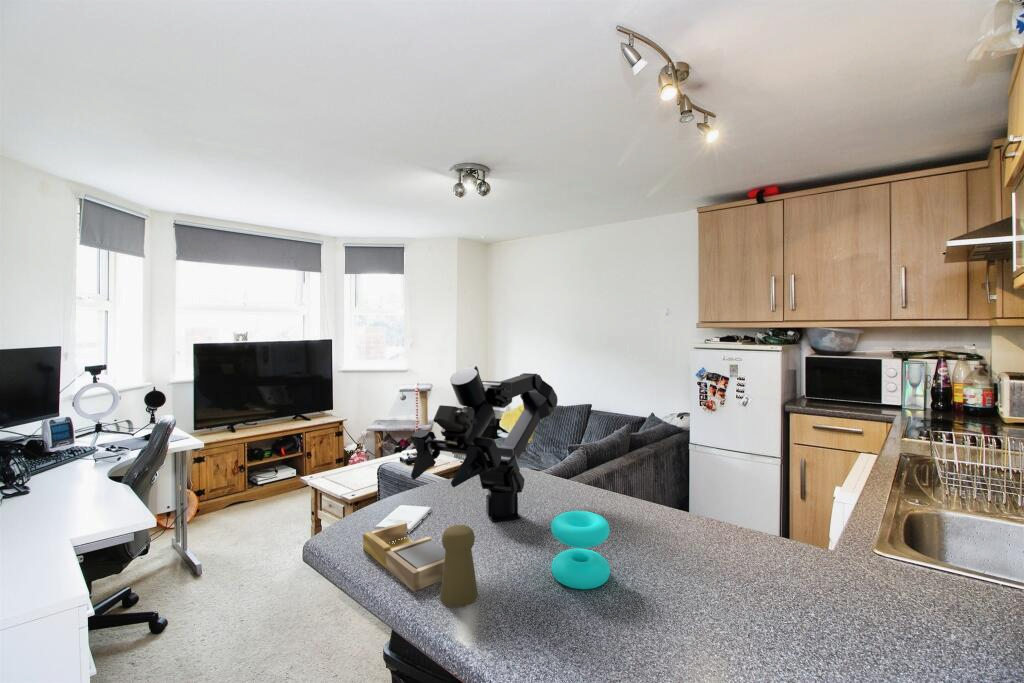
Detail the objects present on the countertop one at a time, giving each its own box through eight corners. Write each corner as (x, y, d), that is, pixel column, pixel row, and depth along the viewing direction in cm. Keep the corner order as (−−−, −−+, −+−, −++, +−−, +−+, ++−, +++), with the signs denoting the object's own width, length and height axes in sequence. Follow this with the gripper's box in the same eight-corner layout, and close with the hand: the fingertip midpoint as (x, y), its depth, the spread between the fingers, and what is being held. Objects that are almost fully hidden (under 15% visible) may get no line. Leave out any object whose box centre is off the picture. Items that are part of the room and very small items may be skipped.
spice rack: (405, 535, 98) (404, 519, 98) (459, 572, 82) (459, 553, 82) (362, 549, 92) (362, 531, 92) (413, 591, 76) (413, 570, 76)
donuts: (554, 506, 86) (610, 510, 84) (555, 560, 87) (610, 565, 84) (546, 528, 77) (609, 533, 74) (547, 589, 77) (609, 596, 75)
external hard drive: (431, 513, 111) (410, 536, 99) (399, 511, 113) (374, 533, 101) (431, 506, 111) (410, 528, 99) (399, 504, 113) (374, 525, 101)
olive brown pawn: (441, 587, 78) (440, 521, 78) (477, 585, 78) (477, 519, 78) (438, 608, 72) (437, 537, 72) (478, 606, 72) (477, 535, 72)
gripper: (422, 390, 97) (376, 443, 86) (500, 395, 88) (459, 455, 77) (441, 430, 103) (399, 485, 91) (515, 439, 94) (479, 501, 82)
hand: (431, 481), depth 85 cm, fingers open, 9 cm apart
